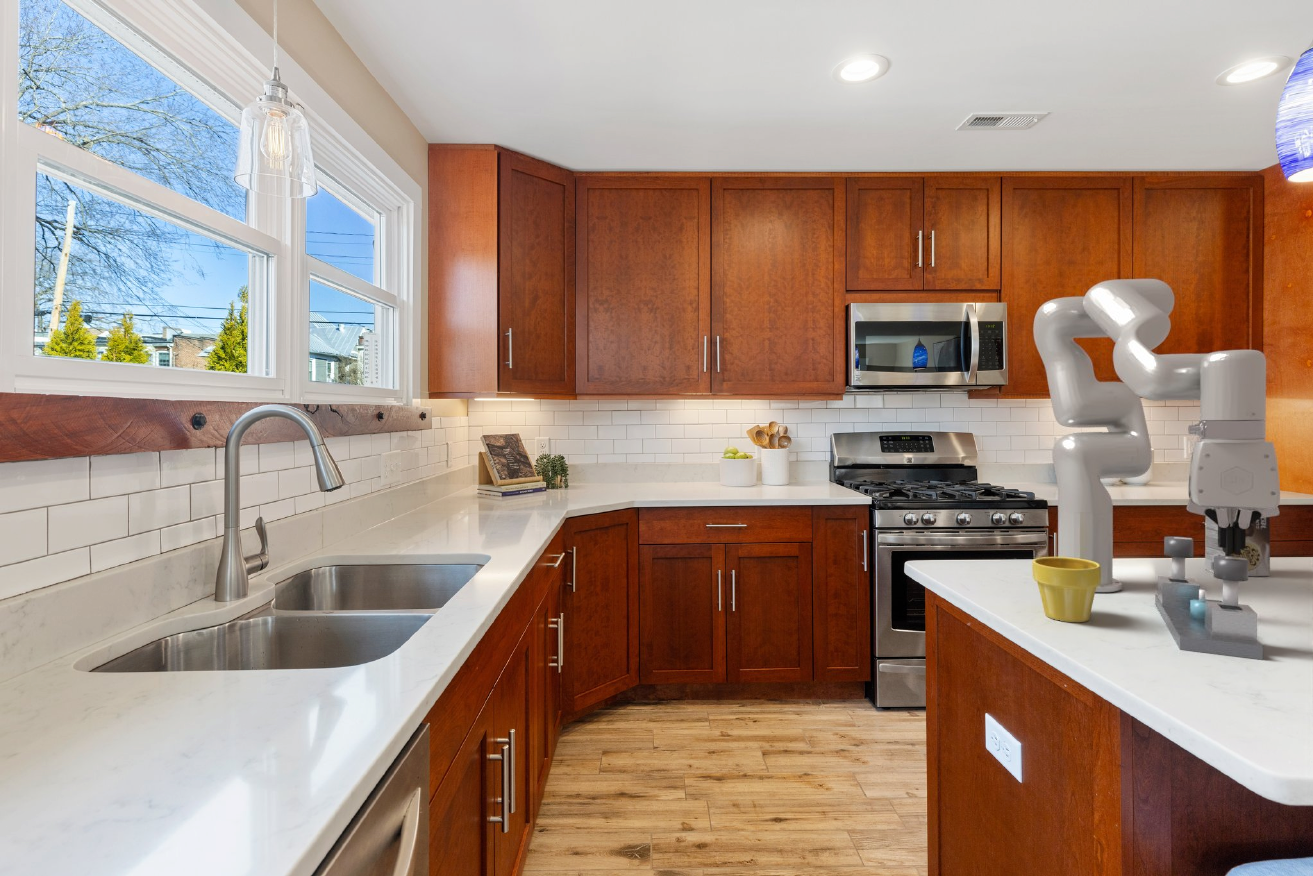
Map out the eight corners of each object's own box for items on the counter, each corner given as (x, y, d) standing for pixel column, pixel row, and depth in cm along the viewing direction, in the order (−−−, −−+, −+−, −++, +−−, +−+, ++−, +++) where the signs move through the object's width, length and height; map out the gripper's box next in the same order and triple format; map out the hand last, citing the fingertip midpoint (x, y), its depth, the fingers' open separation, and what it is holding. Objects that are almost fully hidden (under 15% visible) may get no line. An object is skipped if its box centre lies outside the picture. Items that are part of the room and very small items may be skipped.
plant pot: (1019, 613, 121) (1019, 559, 121) (1058, 605, 125) (1058, 553, 125) (1074, 629, 112) (1074, 571, 111) (1114, 621, 116) (1115, 564, 116)
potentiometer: (1192, 618, 110) (1192, 591, 110) (1188, 613, 113) (1188, 586, 113) (1215, 620, 109) (1215, 593, 108) (1211, 615, 111) (1211, 588, 111)
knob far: (1166, 579, 118) (1166, 538, 117) (1162, 574, 121) (1162, 535, 121) (1195, 581, 116) (1195, 540, 115) (1190, 576, 119) (1190, 536, 119)
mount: (1179, 649, 102) (1180, 610, 102) (1155, 605, 124) (1155, 573, 124) (1262, 659, 97) (1262, 618, 97) (1221, 611, 120) (1221, 578, 119)
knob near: (1216, 605, 102) (1216, 559, 102) (1210, 599, 105) (1211, 554, 105) (1251, 609, 100) (1251, 561, 100) (1244, 602, 103) (1244, 556, 103)
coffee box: (1247, 569, 149) (1248, 497, 148) (1271, 576, 143) (1272, 501, 142) (1203, 569, 150) (1203, 497, 149) (1224, 576, 144) (1225, 501, 143)
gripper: (1174, 433, 102) (1174, 553, 103) (1307, 433, 95) (1306, 562, 95) (1166, 432, 109) (1166, 545, 109) (1290, 431, 101) (1289, 552, 102)
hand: (1231, 552), depth 102 cm, fingers closed
